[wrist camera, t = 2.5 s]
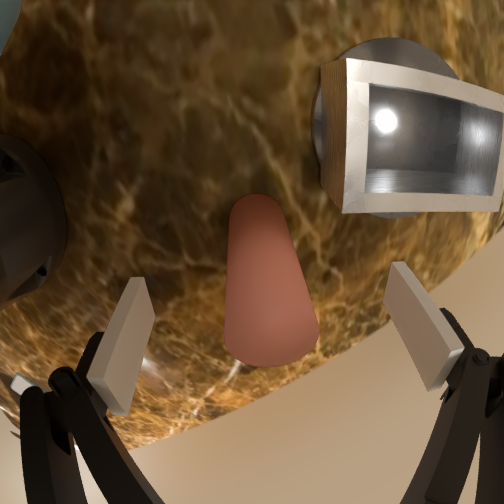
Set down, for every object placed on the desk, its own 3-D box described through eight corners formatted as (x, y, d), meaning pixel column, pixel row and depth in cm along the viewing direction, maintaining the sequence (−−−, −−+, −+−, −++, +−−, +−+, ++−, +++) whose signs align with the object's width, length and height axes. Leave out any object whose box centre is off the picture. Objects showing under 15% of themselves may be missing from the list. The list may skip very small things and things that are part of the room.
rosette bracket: (309, 215, 23) (330, 257, 18) (307, 27, 16) (333, 7, 10) (453, 212, 23) (492, 244, 18) (468, 60, 16) (518, 64, 11)
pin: (231, 243, 24) (229, 369, 13) (227, 195, 22) (218, 305, 11) (283, 240, 24) (314, 363, 13) (282, 192, 22) (323, 297, 11)
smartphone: (16, 373, 33) (92, 423, 39) (18, 368, 34) (94, 418, 39) (9, 387, 36) (77, 431, 41) (11, 383, 36) (78, 427, 42)
